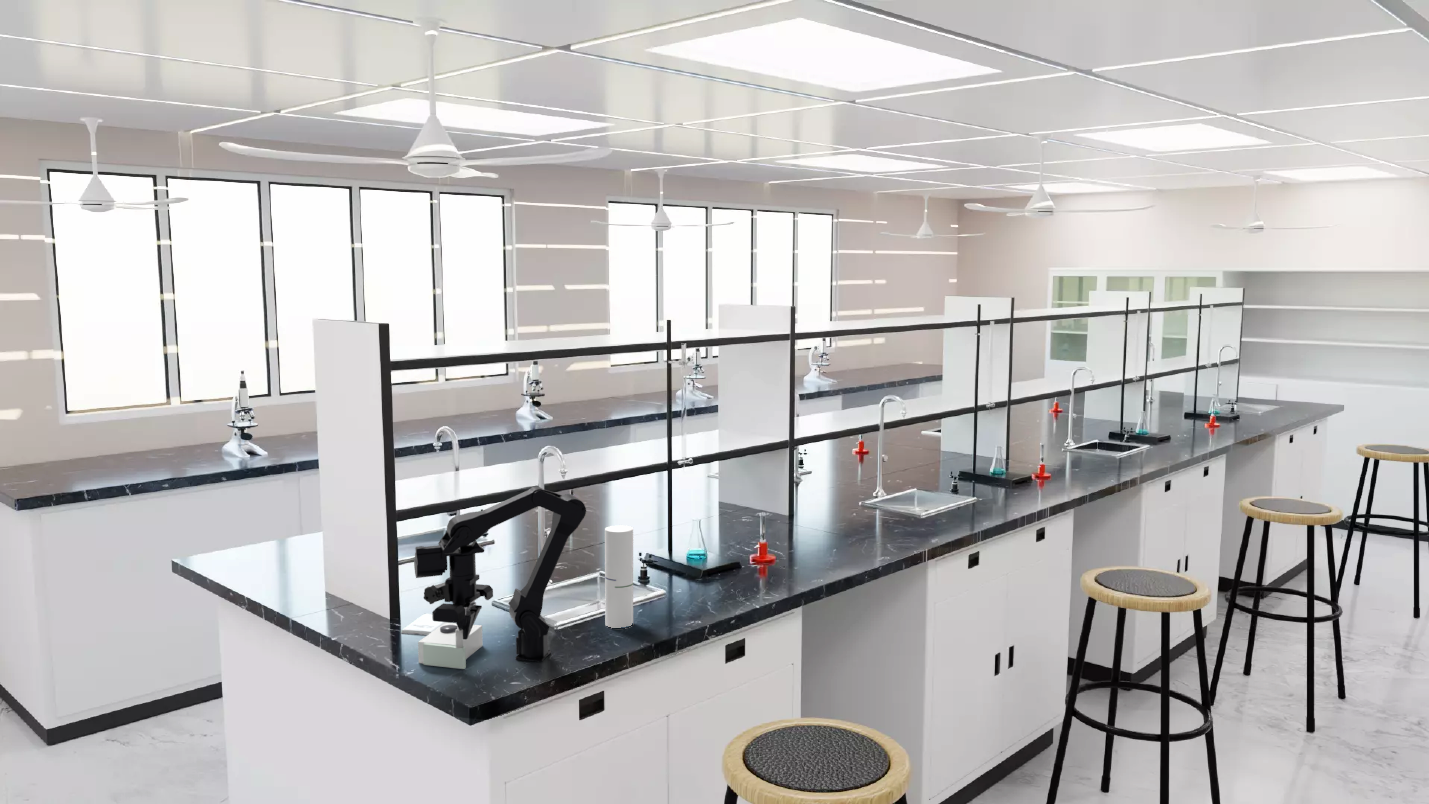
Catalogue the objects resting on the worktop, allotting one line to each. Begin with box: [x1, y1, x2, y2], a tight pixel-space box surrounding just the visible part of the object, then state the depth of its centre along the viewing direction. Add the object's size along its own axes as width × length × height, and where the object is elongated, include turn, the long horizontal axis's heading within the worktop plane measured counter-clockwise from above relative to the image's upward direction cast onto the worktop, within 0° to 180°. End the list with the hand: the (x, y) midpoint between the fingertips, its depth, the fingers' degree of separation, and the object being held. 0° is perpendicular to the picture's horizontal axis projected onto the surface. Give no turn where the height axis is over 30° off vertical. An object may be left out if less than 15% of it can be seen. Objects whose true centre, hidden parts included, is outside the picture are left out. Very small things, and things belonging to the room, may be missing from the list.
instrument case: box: [417, 622, 484, 664], centre depth 235 cm, size 10×14×6 cm
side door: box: [423, 629, 467, 670], centre depth 227 cm, size 10×2×9 cm, turn 76°
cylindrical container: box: [604, 524, 634, 629], centre depth 256 cm, size 7×7×25 cm
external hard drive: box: [400, 613, 450, 636], centre depth 255 cm, size 2×8×12 cm
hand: (464, 639), depth 228 cm, fingers closed
